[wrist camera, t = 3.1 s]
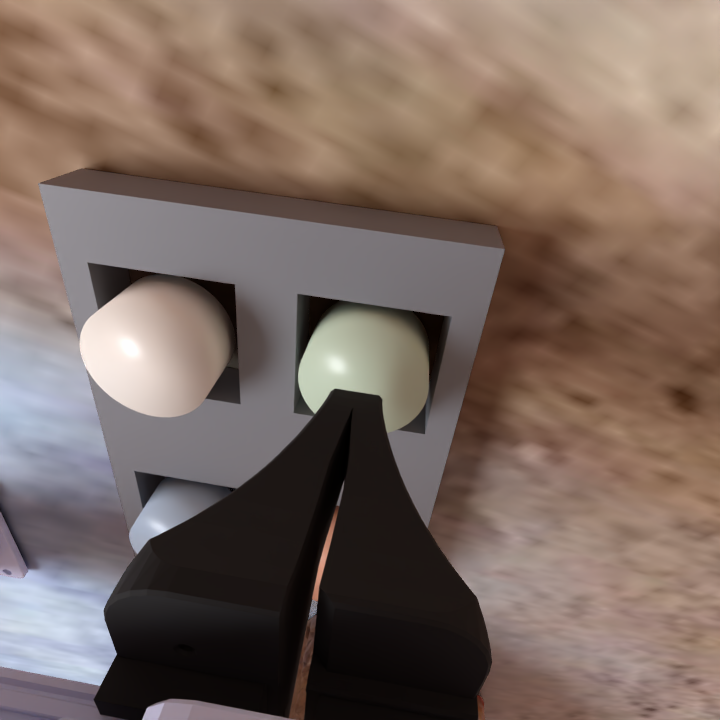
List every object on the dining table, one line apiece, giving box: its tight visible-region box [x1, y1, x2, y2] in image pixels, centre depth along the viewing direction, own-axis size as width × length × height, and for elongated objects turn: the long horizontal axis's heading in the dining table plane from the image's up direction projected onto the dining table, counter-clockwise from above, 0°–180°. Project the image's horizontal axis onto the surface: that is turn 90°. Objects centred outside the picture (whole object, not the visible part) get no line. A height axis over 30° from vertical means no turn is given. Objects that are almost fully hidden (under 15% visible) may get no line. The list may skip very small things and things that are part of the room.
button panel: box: [38, 169, 505, 557], centre depth 19 cm, size 13×18×2 cm
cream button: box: [80, 274, 235, 417], centre depth 15 cm, size 4×4×2 cm
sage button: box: [298, 300, 429, 433], centre depth 16 cm, size 4×4×2 cm
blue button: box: [129, 477, 231, 554], centre depth 20 cm, size 4×4×2 cm
